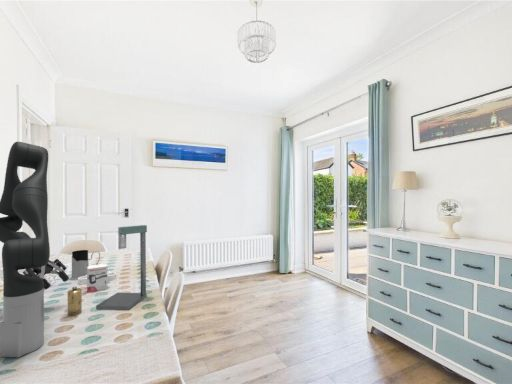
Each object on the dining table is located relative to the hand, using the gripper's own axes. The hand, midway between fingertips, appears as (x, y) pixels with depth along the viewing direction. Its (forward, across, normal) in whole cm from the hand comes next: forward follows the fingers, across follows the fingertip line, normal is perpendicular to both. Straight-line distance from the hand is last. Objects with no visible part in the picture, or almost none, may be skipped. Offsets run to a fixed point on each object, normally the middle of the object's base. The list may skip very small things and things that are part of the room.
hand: (58, 283), depth 102 cm
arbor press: (+22, +11, -6) cm, 26 cm away
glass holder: (-8, +44, +25) cm, 51 cm away
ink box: (+7, +25, +10) cm, 28 cm away
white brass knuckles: (0, +39, +17) cm, 42 cm away
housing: (+13, 0, +3) cm, 14 cm away
